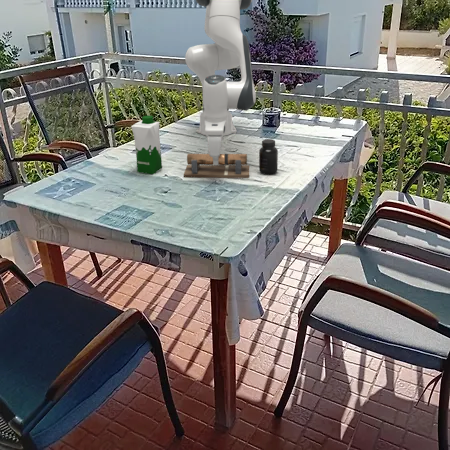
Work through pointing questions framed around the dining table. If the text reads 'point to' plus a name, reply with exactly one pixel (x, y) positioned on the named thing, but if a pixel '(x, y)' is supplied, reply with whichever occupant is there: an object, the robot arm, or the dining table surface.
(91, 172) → the dining table surface
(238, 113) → the dining table surface
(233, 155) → the copper tube
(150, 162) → the milk carton
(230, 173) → the cradle board
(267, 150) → the supplement bottle
